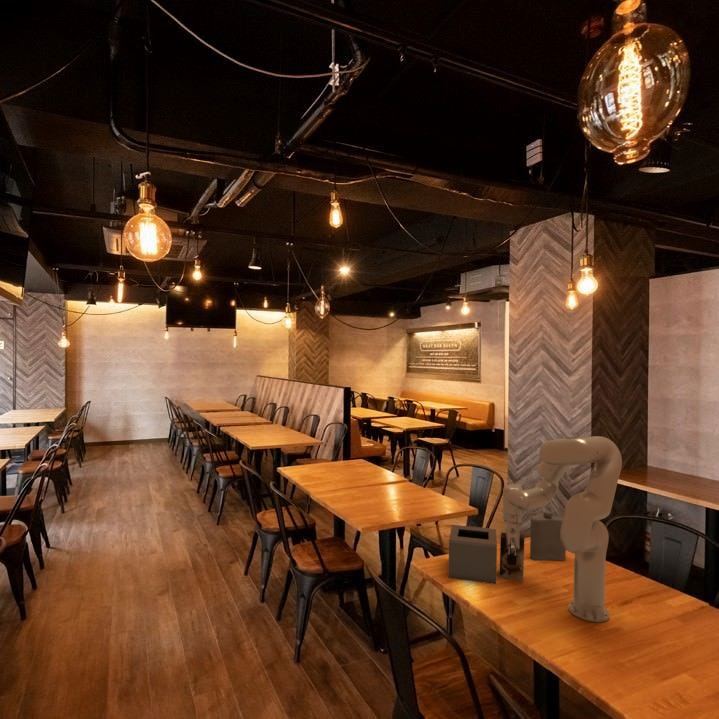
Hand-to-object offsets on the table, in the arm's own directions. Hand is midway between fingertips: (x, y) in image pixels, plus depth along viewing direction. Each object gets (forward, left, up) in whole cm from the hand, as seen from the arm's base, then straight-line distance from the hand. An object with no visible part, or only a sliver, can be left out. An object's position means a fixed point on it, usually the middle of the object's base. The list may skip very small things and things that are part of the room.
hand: (511, 559), depth 193 cm
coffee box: (0, 0, -7) cm, 7 cm away
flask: (+23, -16, -7) cm, 29 cm away
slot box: (0, +15, -6) cm, 16 cm away
